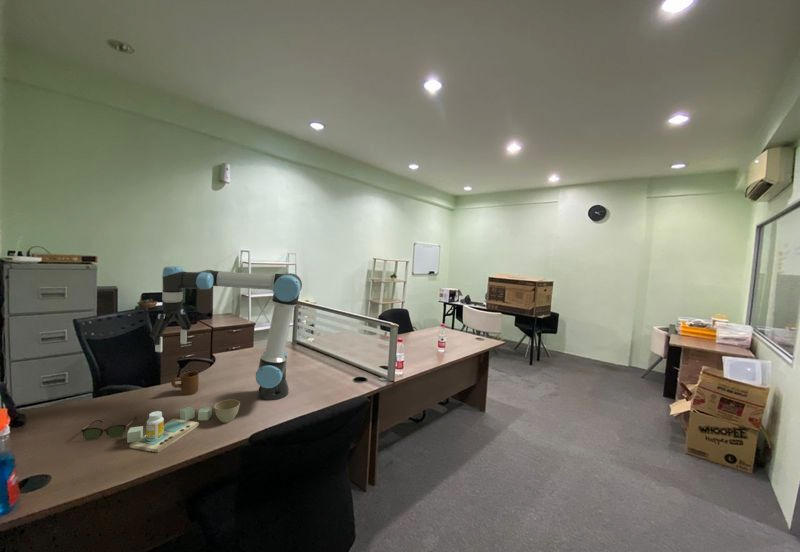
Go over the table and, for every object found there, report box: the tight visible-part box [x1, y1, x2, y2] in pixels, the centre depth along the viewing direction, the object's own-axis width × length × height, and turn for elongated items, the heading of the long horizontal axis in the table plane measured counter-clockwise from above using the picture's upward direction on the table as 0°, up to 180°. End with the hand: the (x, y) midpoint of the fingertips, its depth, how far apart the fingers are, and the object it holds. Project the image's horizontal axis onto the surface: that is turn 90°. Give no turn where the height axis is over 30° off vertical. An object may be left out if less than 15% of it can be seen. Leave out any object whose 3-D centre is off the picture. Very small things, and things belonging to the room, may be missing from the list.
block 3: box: [197, 406, 213, 421], centre depth 149 cm, size 4×4×4 cm
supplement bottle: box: [145, 410, 165, 441], centre depth 130 cm, size 5×5×10 cm
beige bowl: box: [213, 398, 241, 424], centre depth 148 cm, size 10×10×7 cm
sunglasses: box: [80, 416, 137, 441], centre depth 136 cm, size 14×15×5 cm
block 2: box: [179, 406, 196, 421], centre depth 148 cm, size 4×4×4 cm
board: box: [129, 418, 200, 453], centre depth 134 cm, size 12×20×1 cm, turn 171°
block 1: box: [126, 425, 144, 444], centre depth 130 cm, size 4×4×4 cm
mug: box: [170, 371, 200, 396], centre depth 171 cm, size 12×8×9 cm, turn 142°
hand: (171, 347), depth 153 cm, fingers open, 13 cm apart
